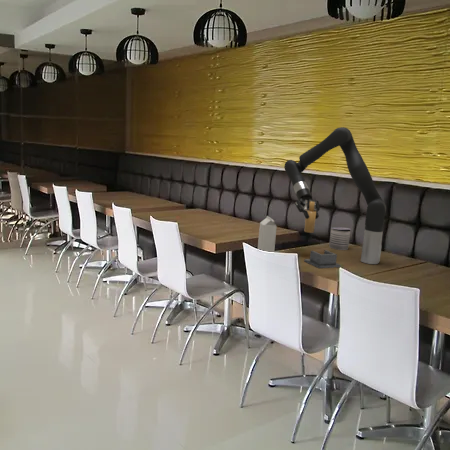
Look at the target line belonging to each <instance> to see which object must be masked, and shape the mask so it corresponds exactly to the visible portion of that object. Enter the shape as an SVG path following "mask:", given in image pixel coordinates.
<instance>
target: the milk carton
mask: <svg viewBox="0 0 450 450" xmlns="http://www.w3.org/2000/svg"><path fill="white" fill-rule="evenodd" d="M276 236H277V224H276V223H275V219H273V218H272V217H270V216H269V215H266V217H265V218H264V219H263V220H261V221H260V222H259V230H258V238H257V239H258V241H257V250H258V249H261V250H264V251H270V252H274V253H275V249H276V248H275V245H276V238H277V237H276Z"/></svg>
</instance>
